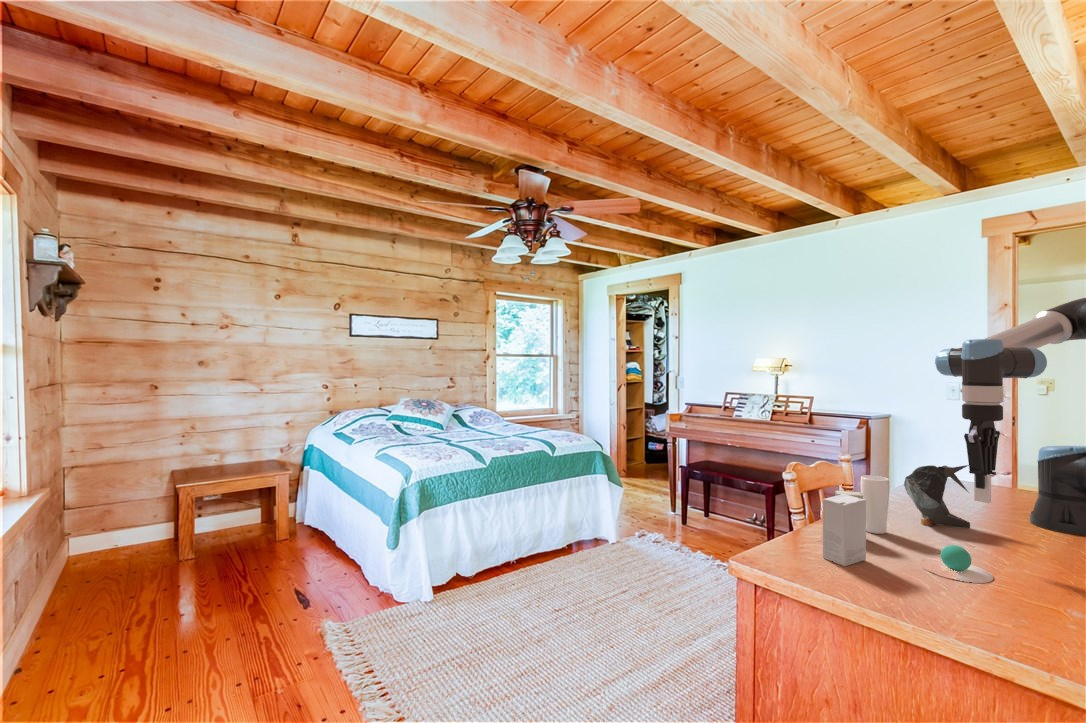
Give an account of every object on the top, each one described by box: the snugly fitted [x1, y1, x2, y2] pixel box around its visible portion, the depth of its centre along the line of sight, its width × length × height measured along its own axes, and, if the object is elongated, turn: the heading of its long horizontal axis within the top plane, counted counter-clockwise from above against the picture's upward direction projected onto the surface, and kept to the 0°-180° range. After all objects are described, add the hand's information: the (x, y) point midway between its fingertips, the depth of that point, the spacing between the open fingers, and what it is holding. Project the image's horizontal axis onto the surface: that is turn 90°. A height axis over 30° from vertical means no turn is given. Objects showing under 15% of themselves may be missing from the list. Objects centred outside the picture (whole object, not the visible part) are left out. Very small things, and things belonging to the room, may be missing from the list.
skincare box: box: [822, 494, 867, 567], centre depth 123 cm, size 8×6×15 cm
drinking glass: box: [860, 474, 890, 535], centre depth 143 cm, size 7×7×15 cm
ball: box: [940, 544, 972, 571], centre depth 117 cm, size 6×6×6 cm
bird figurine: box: [903, 464, 971, 529], centre depth 149 cm, size 14×15×18 cm
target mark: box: [946, 564, 994, 584], centre depth 116 cm, size 13×13×1 cm
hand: (982, 501), depth 123 cm, fingers closed
